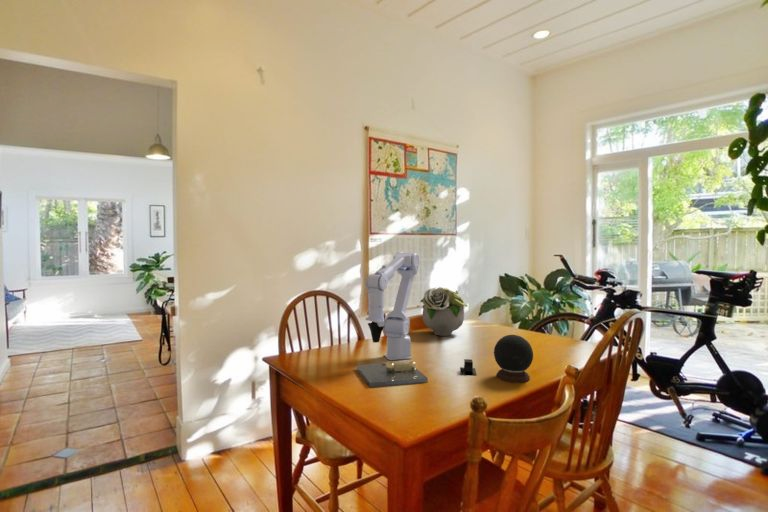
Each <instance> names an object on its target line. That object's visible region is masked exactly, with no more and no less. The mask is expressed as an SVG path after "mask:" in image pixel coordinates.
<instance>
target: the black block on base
mask: <svg viewBox="0 0 768 512" xmlns="http://www.w3.org/2000/svg"><path fill="white" fill-rule="evenodd" d="M473 364H474V362H473V359H469V358H468V359H467V358H466V359H463V367H462V366H460V367H459V371H460V375H461V376H475V377H476V376H477V375H478V374H477V371H476V367H474V365H473Z"/></svg>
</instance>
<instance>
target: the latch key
mask: <svg viewBox="0 0 768 512" xmlns="http://www.w3.org/2000/svg"><path fill="white" fill-rule="evenodd" d="M416 362H417V361H396V362H395V361H393V362H392V361H387V362H385V363H386V371H390V372H392V371H403V370H416V369H417V368H416V367H417V366H416V365H417V363H416Z"/></svg>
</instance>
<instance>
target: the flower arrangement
mask: <svg viewBox="0 0 768 512" xmlns="http://www.w3.org/2000/svg"><path fill="white" fill-rule="evenodd" d="M458 294H459V291H458V290H455V291H453V290H451V289H449V288H446V287H437V288H436V287H434V288H433V287H432V288H430V289H427V290H425V292H424V296H423V297H422V299H421V300H420V303H422V304H423V305H422V320H423V323H424V325H425V326H426V327H427V328H429V330H431V331H432V332H433V334H435V335H436V336H441V337H445V336H452V334H453V332H455V331H457V330H458V329H459V328H460V327H461V326H463V323H464V320H465V311H464V309H465V308H464V307H469V306H468V305H467V304H466V302H465V301H464V300H463V299H462V297H460V296H459V295H458Z"/></svg>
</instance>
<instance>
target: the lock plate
mask: <svg viewBox="0 0 768 512" xmlns="http://www.w3.org/2000/svg"><path fill="white" fill-rule="evenodd" d="M386 363H387V362H381V363H372V364H359V365H356V370H357V372H358V373H359V374H360V376H361V377H362V379H363V380H364V382H365V383H366V384H367V385H368V387H369V388H379V387H391V386H400V385H401V386H402V385H412V384H423V383H428V382H429V381H428V377H427V376H426V375H424V374H423V373H422V372H421V371H420V370H419V369H417V368H416V370H403V371H392V372H390V371H386Z"/></svg>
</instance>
